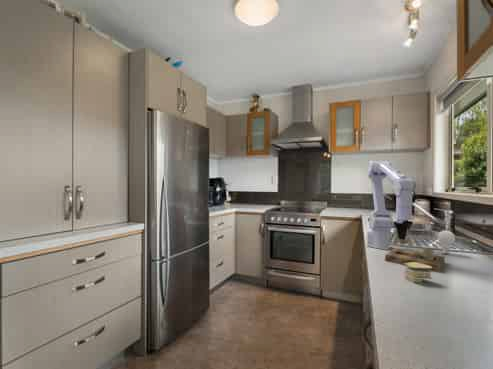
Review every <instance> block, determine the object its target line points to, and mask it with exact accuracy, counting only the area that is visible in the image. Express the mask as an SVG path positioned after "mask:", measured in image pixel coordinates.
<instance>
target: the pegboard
mask: <svg viewBox="0 0 493 369" xmlns="http://www.w3.org/2000/svg"><path fill="white" fill-rule="evenodd" d="M445 260H446V259H445V256H443V255H438V254H434V261H432V260H427V259H423V252H420V251H415V250H409V249H403V248H397V247H394V248H393V249H391V250H390V251H388V253H386V254H385V255H384V261H385V262H387V263H388V262H389V263H392V264H393V263H394V264H398V265H403V266H406V267H408V266H409V265H406V264H404V263H411V262H417V263H421V264H425V265H428V266H431V267H432V268H426V269H429V270H431V271H432V272H435V273H441V270H442V268H443V267H444V265H445Z"/></svg>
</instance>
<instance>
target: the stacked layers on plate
mask: <svg viewBox="0 0 493 369" xmlns="http://www.w3.org/2000/svg"><path fill="white" fill-rule="evenodd" d="M404 264H406V265H405V266H404V267H403V269H405V270H404V271H405V272H403V275H404V280H406V281H409V282H410V281H411V282H410V283H413V282H418V283H423V280H432V279H433V277H432V276H431V274H432V273H433V271H431V270H429V269H426V268H432V267H431V266H428V265H425V264H421V263H417V262H411V263H404ZM407 265H409V266H407Z"/></svg>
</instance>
